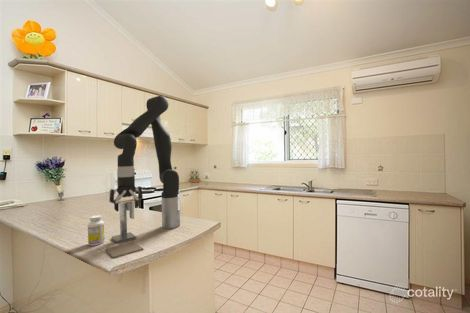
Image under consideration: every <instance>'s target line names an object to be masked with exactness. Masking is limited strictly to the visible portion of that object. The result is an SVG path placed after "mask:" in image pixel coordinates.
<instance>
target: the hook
mask: <svg viewBox="0 0 470 313" xmlns="http://www.w3.org/2000/svg"><path fill="white" fill-rule="evenodd" d="M128 201H129V200H126V201H121V202H120V201H119V202H118V204H119V221H120V220H121V221H124V206H126V205H127V202H128ZM131 201H132V210H129V218H130V219H132V220H135V204H134V201H133V200H131Z"/></svg>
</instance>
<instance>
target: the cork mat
mask: <svg viewBox="0 0 470 313" xmlns="http://www.w3.org/2000/svg"><path fill="white" fill-rule="evenodd" d="M140 250H141V251H144V248H143V247H142V246H141V245H140V244H138V243H137V242H136V241H135V240H132V241H128V242H124V243H122V244H121V243H120V244H118V245H114V246H110V247H106V248H105V251H106V252H107V253H108V255H109V256H110V257H111V258H112V259H116V258H119V257H123V256H127V255H130V254H133V253H136V252H139V251H140ZM126 254H127V255H126Z"/></svg>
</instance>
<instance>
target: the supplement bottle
mask: <svg viewBox="0 0 470 313" xmlns="http://www.w3.org/2000/svg"><path fill="white" fill-rule="evenodd" d="M87 241H88V242H87V243H88V246H93V247H94V246H99V245H102V244H104V243H105V221H104V220H102V215H100V214H99V215H97V214H96V215H92V216H90V217H89V222H88V223H87Z"/></svg>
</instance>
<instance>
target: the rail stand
mask: <svg viewBox="0 0 470 313" xmlns="http://www.w3.org/2000/svg"><path fill="white" fill-rule="evenodd" d="M127 201H128V202H127V205H126V206H124V221H121V220H120V219H119V229H120V233H119V234H116V235H112V236H111V237H110V239H111V240H112V241H113V242H114V243H115V244H121V243H126V242H130V241H134V240H136V239H137V236H136V235H135V234H134V233H133V232H132V231H131V232H130V231H129V232H128V225H127V224H128V223H127V222H128V217H127V211H129V212H130V210H132V201H133V200H127Z"/></svg>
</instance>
